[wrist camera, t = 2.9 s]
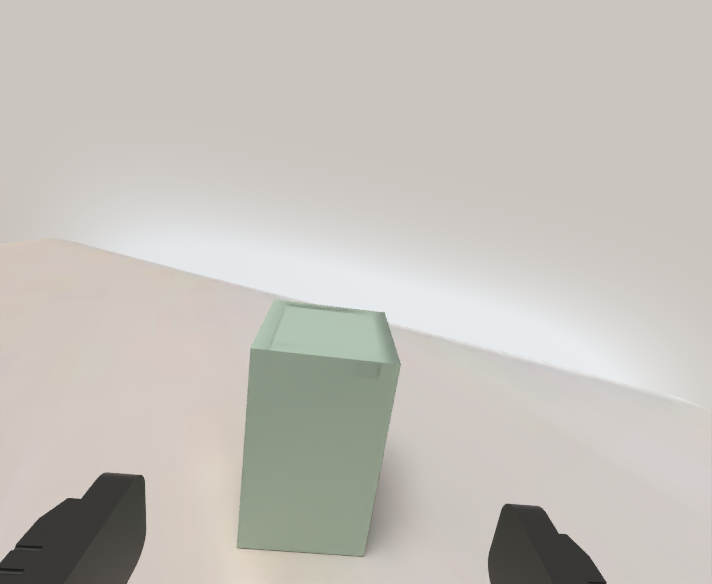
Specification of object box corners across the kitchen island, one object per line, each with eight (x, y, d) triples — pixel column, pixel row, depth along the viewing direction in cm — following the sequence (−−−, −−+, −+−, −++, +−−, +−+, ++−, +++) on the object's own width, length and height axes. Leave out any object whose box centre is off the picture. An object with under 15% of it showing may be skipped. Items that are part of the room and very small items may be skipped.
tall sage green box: (236, 547, 20) (250, 347, 17) (261, 457, 26) (274, 299, 23) (363, 556, 20) (400, 364, 17) (357, 466, 26) (384, 312, 23)
